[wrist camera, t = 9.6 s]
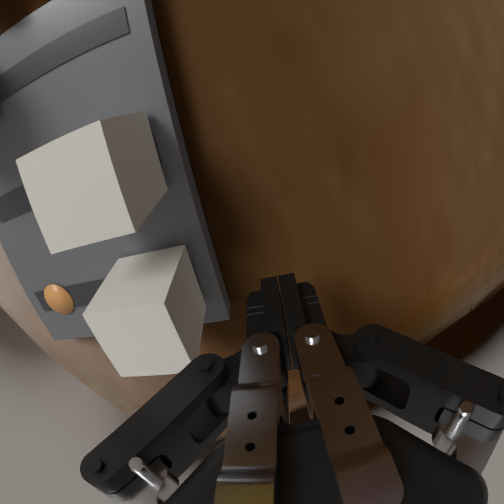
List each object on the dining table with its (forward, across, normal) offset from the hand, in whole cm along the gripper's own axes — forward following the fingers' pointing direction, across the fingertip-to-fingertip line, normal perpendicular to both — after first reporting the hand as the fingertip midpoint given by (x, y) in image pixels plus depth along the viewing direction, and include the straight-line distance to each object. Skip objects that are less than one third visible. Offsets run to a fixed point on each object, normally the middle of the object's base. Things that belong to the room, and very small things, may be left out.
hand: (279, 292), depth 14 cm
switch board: (+5, +10, -7) cm, 13 cm away
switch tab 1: (+3, +6, -7) cm, 10 cm away
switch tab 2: (+3, +6, 0) cm, 7 cm away
